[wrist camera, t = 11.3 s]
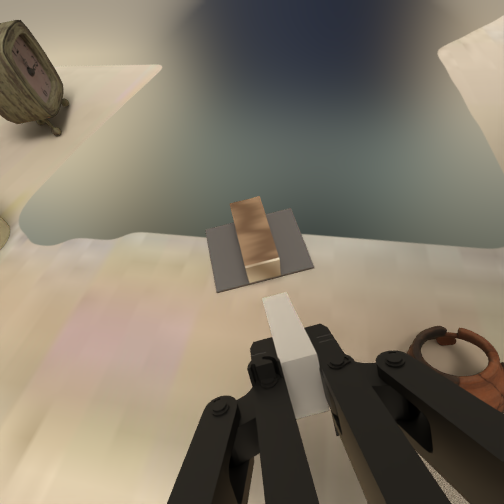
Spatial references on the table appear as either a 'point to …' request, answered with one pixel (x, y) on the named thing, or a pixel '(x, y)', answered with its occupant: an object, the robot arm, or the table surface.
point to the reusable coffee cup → (3, 232)
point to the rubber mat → (230, 256)
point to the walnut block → (255, 240)
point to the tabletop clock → (27, 78)
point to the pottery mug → (480, 385)
